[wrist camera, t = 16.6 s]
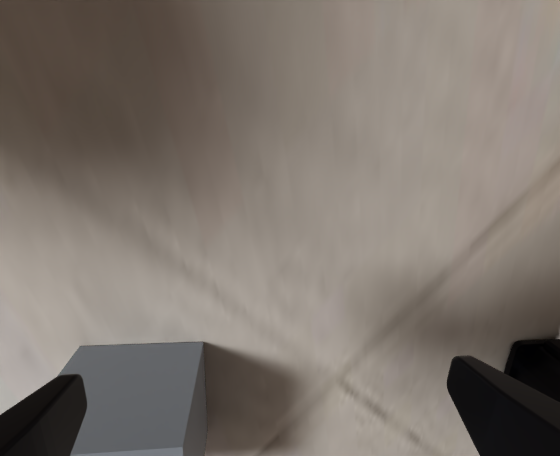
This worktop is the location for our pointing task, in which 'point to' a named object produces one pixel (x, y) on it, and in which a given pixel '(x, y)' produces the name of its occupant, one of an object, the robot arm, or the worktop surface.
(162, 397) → the plain gray cube
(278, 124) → the worktop surface
